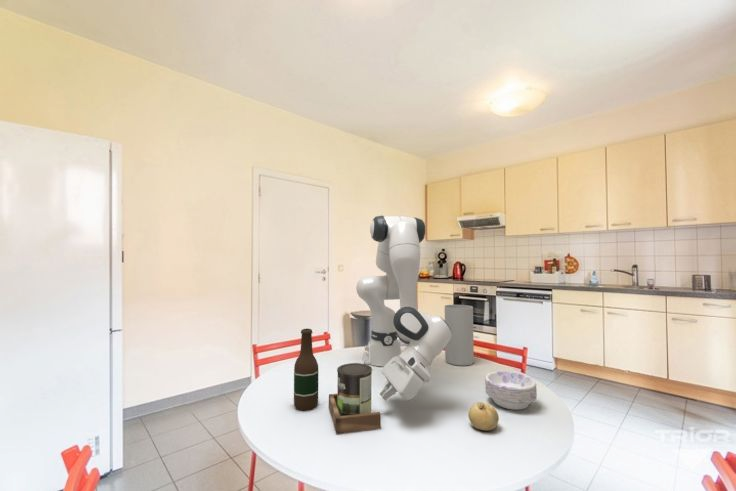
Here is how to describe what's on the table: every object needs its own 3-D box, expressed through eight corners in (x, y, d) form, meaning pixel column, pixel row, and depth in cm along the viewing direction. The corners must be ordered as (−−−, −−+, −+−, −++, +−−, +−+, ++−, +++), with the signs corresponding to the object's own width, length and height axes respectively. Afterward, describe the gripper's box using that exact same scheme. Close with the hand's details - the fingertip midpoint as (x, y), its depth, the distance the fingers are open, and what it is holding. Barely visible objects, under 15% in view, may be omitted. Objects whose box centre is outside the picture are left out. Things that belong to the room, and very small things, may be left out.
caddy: (328, 407, 102) (328, 394, 103) (366, 403, 105) (366, 390, 106) (336, 434, 87) (336, 418, 87) (380, 428, 89) (380, 413, 90)
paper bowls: (485, 410, 101) (484, 383, 101) (485, 391, 115) (485, 368, 115) (540, 418, 95) (539, 390, 96) (533, 397, 110) (533, 373, 110)
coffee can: (341, 428, 90) (342, 376, 90) (333, 412, 99) (333, 364, 100) (377, 422, 93) (377, 372, 94) (365, 407, 103) (365, 361, 103)
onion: (465, 419, 95) (464, 395, 95) (493, 420, 94) (492, 395, 95) (473, 434, 87) (472, 407, 87) (503, 435, 86) (503, 407, 87)
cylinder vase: (441, 358, 154) (440, 304, 155) (466, 357, 155) (466, 304, 156) (450, 366, 141) (450, 308, 143) (478, 365, 143) (477, 308, 144)
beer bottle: (309, 398, 109) (309, 325, 110) (323, 406, 103) (323, 329, 105) (288, 405, 104) (289, 329, 105) (302, 414, 98) (303, 333, 99)
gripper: (395, 346, 111) (367, 378, 108) (418, 365, 91) (384, 404, 88) (407, 359, 112) (380, 390, 109) (433, 380, 92) (400, 419, 89)
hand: (382, 397), depth 98 cm, fingers closed
